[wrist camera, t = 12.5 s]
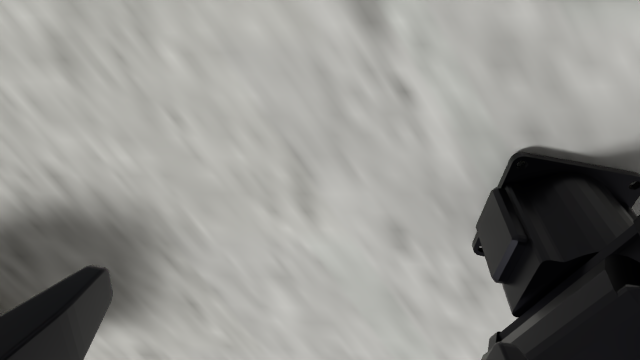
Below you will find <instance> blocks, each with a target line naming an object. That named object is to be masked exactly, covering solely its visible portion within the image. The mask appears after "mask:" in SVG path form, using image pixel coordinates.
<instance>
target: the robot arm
mask: <svg viewBox="0 0 640 360" xmlns="http://www.w3.org/2000/svg"><path fill="white" fill-rule="evenodd" d="M520 161H525V163H524V164H523V165H519V166H518V165H517V163H518V162H520ZM634 181H636V183H635V184H633V185H630V184H631V183H632V182H634ZM639 196H640V174H639V173H636V172H630V171H624V170H619V169H613V168H608V167H602V166H597V165H591V164H586V163H580V162H575V161H569V160H563V159H558V158H552V157H547V156H541V155H536V154H530V153H525V152H519V153H516V154H514V155H513V156H512V157H511V158H510V160H509V162H508V165H507V167H506V169H505V171H504V173H503V176H502V178H501V180H500V182H499V185H498V187H496V188H495V189H493V190H492V191H491V193H490V195H489V197H488V200H487V202H486V204H485V206H484V209H483V211H482V213H481V216H480V218H479V220H478V222H477V225H476V229H477V234H476V236H475V238H474V240H473V243H472V247H473V250H474V253H476V254H477V255H480V256H485V258H486V261H487V264H488V268H489V271H490V274H491V277H492V278H493V280H494V281H495V282H496V283H502V285H503V288H504V291H505V294H506V297H507V300H508V303H509V306H510V309H511V312H512V314H513V316H515V317H518V319H516V320H515V321H514V322H513V323H512V324H510V325H509V326H508V327H507V328H505V329H504V330H503V331H502V332H497V333H495V334H494V335H493V336H492V337H490V339H489V347H488V352H487V353H486V354H484V355H483V357H482V359H481V360H640V215H639V216H637V215H636V214H635V213H634V211H633V210H632V209H631V208H632V206H633V205H634V203H635V202H636V200H637V199H638V197H639ZM480 246H482V248H480ZM112 296H113V291H112V285H111V279H110V274H109V270H108V269H107V268H105V267H100V266H94V265H89V266H86V267H84V268H83V269H81V270H79V271H77V272H76V273H74V274H72V275H70V276H69V277H67V278H65V279H64V280H62V281H60V282H58V283H57V284H55V285H53V286H51V287H50V288H48V289H46V290H45V291H43V292H41V293H39V294H38V295H36V296H34V297H32V298H31V299H29V300H27V301H25V302H24V303H22V304H20V305H19V306H17V307H15V308H13V309H12V310H10V311H8V312H6V313H5V314H3V315H1V316H0V360H83V359H84V357H85V355H86V353H87V351H88V349H89V347H90V345H91V343H92V341H93V339H94V336H95V334H96V332H97V330H98V328H99V326H100V324H101V322H102V320H103V317H104V315H105V313H106V311H107V309H108V307H109V305H110V303H111V300H112Z"/></svg>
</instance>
